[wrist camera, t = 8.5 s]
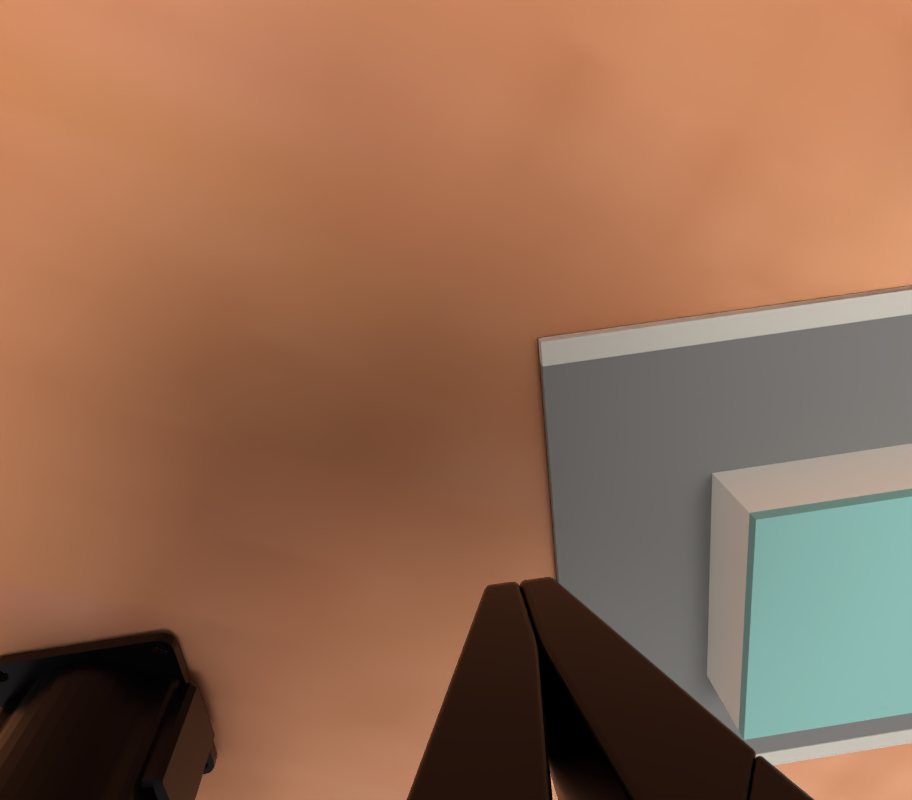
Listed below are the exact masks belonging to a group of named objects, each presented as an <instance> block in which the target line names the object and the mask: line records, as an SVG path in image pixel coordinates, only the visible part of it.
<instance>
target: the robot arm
mask: <svg viewBox="0 0 912 800" xmlns="http://www.w3.org/2000/svg"><path fill="white" fill-rule="evenodd" d="M157 646H162V647H164V648H165V649H166V650H162V649H159V648H158V647H157ZM2 671H4V672H6V673H4V672H2ZM0 707H1V709H0V800H195V798H196V795H197V791H198V788H199V785H200V781H201V778H202V775H203V774H206V773H209V772H211V771H212V770H213V768H214V766H215V762H216V759H217V753H216V750H215V747H214V745H213V739H214V732H213V729H212V726H211V723H210V720H209V717H208V714H207V712H206V709H205V706H204V703H203V700H202V697H201V694H200V691H199V689H198V687H197V686H196V685H195V684H194V683H193V682H191V679H190V676H189V673H188V671H187V668H186V665H185V662H184V659H183V656H182V653H181V651H180V648H179V645H178V642H177V640H176V639H175V637H173V636H172V635H170V634H167V633H155V634H148V635H142V636H135V637H129V638H122V639H116V640H109V641H102V642H96V643H89V644H83V645H76V646H69V647H63V648H56V649H50V650H43V651H37V652H30V653H23V654H17V655H10V656H4V657H0ZM550 773H551V777H552V780H553V784H554V787H555V791H556V794H557V797H558V800H814V799H813V798H811V797H810V796H809V795H808V794H807V793H805V792H804V791H803V790H802V789H800V788H799V787H798V786H797V785H796V784H794V783H793V782H792V781H791V780H789V779H788V778H787V777H786V776H785V775H784V774H782V773H781V772H780V771H779V770H778V769H777V768H775V767H774V766H773V765H772V764H771V763H770V762H768V761H767V760H766V759H765V758H764V757H762V756H757V757H756V752H755V750H754V749H753V748H752V747H750V746H749V745H748V744H747V743H746V742H745V741H743V740H742V739H741V738H740V737H739V736H738V735H736V734H735V733H734V732H733V731H732V730H730V729H729V728H728V727H727V726H726V725H725V724H723V723H722V722H721V721H720V720H719V719H718V718H716V717H715V716H714V715H713V714H712V713H711V712H709V711H708V710H707V709H706V708H705V707H704V706H702V705H701V704H700V703H699V702H698V701H697V700H695V699H694V698H693V697H692V696H691V695H690V694H688V693H687V692H686V691H685V690H684V689H683V688H681V687H680V686H679V685H678V684H677V683H675V682H674V681H673V680H672V679H671V678H670V677H668V676H667V675H666V674H665V673H664V672H663V671H661V670H660V669H659V668H658V667H657V666H656V665H654V664H653V663H652V662H651V661H650V660H649V659H647V658H646V657H645V656H644V655H643V654H642V653H640V652H639V651H638V650H637V649H636V648H635V647H633V646H632V645H631V644H630V643H629V642H628V641H626V640H625V639H624V638H623V637H622V636H620V635H619V634H618V633H617V632H616V631H615V630H613V629H612V628H611V627H610V626H609V625H608V624H606V623H605V622H604V621H603V620H602V619H601V618H599V617H598V616H597V615H596V614H595V613H594V612H592V611H591V610H590V609H589V608H588V607H587V606H585V605H584V604H583V603H582V602H581V601H580V600H578V599H577V598H576V597H575V596H574V595H573V594H571V593H570V592H569V591H568V590H567V589H565V588H564V587H563V586H562V585H561V584H560V583H558V582H557V581H556V580H555V579H553V578H551V577H545V578H538V579H530V580H524V581H522V582H521V584H520V586H519V585H518V583H516V582H508V583H500V584H493V585H488V586H487V587H486V588H485V590H484V592H483V595H482V598H481V601H480V603H479V606H478V609H477V611H476V614H475V617H474V619H473V622H472V625H471V628H470V630H469V633H468V636H467V638H466V641H465V644H464V646H463V649H462V652H461V655H460V657H459V660H458V663H457V665H456V668H455V671H454V674H453V676H452V679H451V682H450V684H449V687H448V690H447V692H446V695H445V698H444V701H443V703H442V706H441V709H440V711H439V714H438V717H437V720H436V722H435V725H434V728H433V730H432V733H431V736H430V738H429V741H428V744H427V747H426V749H425V752H424V755H423V757H422V760H421V763H420V765H419V768H418V771H417V774H416V776H415V779H414V782H413V784H412V787H411V790H410V793H409V795H408V798H407V800H552V789H551V777H550Z"/></svg>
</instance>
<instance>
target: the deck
mask: <svg viewBox="0 0 912 800" xmlns="http://www.w3.org/2000/svg"><path fill="white" fill-rule="evenodd" d="M707 677H708V678H709V680H710V682H711V683H712V685H713V687H714V689H715V690H716V692H717V694H718V696H719V697H720V699H721V701H722V703H723V704H724V706H725V708H726V710H727V711H728V713H729V715H730V717H731V718H732V720H733V722H734V723H735V725H736V727H737V729H738V730H739V732H740V734H741V736H742V737H743V739H744V740H747V739H753V738H759V737H765V736H771V735H778V734H784V733H790V732H796V731H802V730H809V729H815V728H821V727H827V726H833V725H840V724H846V723H852V722H858V721H865V720H871V719H877V718H883V717H889V716H896V715H902V714H908V713H912V444H905V445H898V446H891V447H885V448H878V449H871V450H864V451H858V452H851V453H844V454H837V455H831V456H824V457H817V458H810V459H804V460H797V461H790V462H783V463H777V464H770V465H763V466H756V467H750V468H743V469H736V470H729V471H723V472H716V473H712V499H711V538H710V577H709V616H708V655H707Z"/></svg>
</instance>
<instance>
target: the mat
mask: <svg viewBox="0 0 912 800" xmlns="http://www.w3.org/2000/svg"><path fill="white" fill-rule="evenodd" d="M538 344H539V356H540V369H541V382H542V395H543V408H544V420H545V433H546V446H547V459H548V472H549V484H550V497H551V510H552V523H553V536H554V548H555V561H556V574H557V582H558V583H560V584H561V585H562V586H563V587H564V588H565V589H567V590H568V591H569V592H570V593H571V594H573V595H574V596H575V597H576V598H577V599H578V600H580V601H581V602H582V603H583V604H584V605H585V606H587V607H588V608H589V609H590V610H591V611H592V612H594V613H595V614H596V615H597V616H598V617H599V618H601V619H602V620H603V621H604V622H605V623H606V624H608V625H609V626H610V627H611V628H612V629H613V630H615V631H616V632H617V633H618V634H619V635H620V636H622V637H623V638H624V639H625V640H626V641H628V642H629V643H630V644H631V645H632V646H633V647H635V648H636V649H637V650H638V651H639V652H640V653H642V654H643V655H644V656H645V657H646V658H647V659H649V660H650V661H651V662H652V663H653V664H654V665H656V666H657V667H658V668H659V669H660V670H661V671H663V672H664V673H665V674H666V675H667V676H668V677H670V678H671V679H672V680H673V681H674V682H675V683H677V684H678V685H679V686H680V687H681V688H683V689H684V690H685V691H686V692H687V693H688V694H690V695H691V696H692V697H693V698H694V699H695V700H697V701H698V702H699V703H700V704H701V705H702V706H704V707H705V708H706V709H707V710H708V711H709V712H711V713H712V714H713V715H714V716H715V717H716V718H718V719H719V720H720V721H721V722H722V723H723V724H725V725H726V726H727V727H728V728H729V729H730V730H732V731H733V732H734V733H735V734H736V735H738V736H739V737H740V738H741V739H742V740H743V741H745V742H746V743H747V744H748V745H749V746H750V747H752V748H753V749H754V750H755V752H756V757H757V756H762V757H764V758H765V759H766V760H767V761H768V762H770V763H771V764H772V765H779V764H785V763H791V762H797V761H803V760H809V759H816V758H822V757H828V756H834V755H840V754H846V753H852V752H859V751H865V750H871V749H877V748H883V747H889V746H896V745H902V744H908V743H912V713H908V714H902V715H896V716H889V717H883V718H877V719H871V720H865V721H858V722H852V723H846V724H840V725H833V726H827V727H821V728H815V729H809V730H802V731H796V732H790V733H784V734H778V735H771V736H765V737H759V738H753V739H747V740H744V739H743V737H742V736H741V734H740V732H739V730H738V729H737V727H736V725H735V723H734V722H733V720H732V718H731V717H730V715H729V713H728V711H727V710H726V708H725V706H724V704H723V703H722V701H721V699H720V697H719V696H718V694H717V692H716V690H715V689H714V687H713V685H712V683H711V682H710V680H709V678H708V677H707V655H708V616H709V577H710V538H711V499H712V473H716V472H723V471H729V470H736V469H743V468H750V467H756V466H763V465H770V464H777V463H783V462H790V461H797V460H804V459H810V458H817V457H824V456H831V455H837V454H844V453H851V452H858V451H864V450H871V449H878V448H885V447H891V446H898V445H905V444H912V286H904V287H897V288H890V289H883V290H876V291H869V292H862V293H855V294H848V295H841V296H833V297H826V298H819V299H812V300H805V301H798V302H791V303H784V304H777V305H770V306H762V307H755V308H748V309H741V310H734V311H727V312H720V313H713V314H706V315H699V316H692V317H684V318H677V319H670V320H663V321H656V322H649V323H642V324H635V325H628V326H621V327H613V328H606V329H599V330H592V331H585V332H578V333H571V334H564V335H557V336H550V337H542V338H538Z"/></svg>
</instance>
